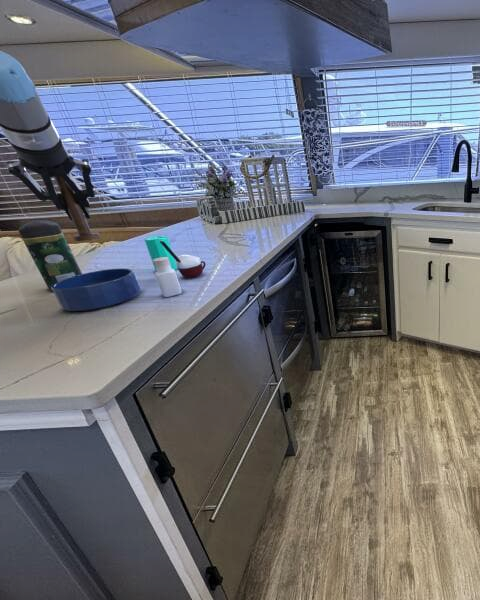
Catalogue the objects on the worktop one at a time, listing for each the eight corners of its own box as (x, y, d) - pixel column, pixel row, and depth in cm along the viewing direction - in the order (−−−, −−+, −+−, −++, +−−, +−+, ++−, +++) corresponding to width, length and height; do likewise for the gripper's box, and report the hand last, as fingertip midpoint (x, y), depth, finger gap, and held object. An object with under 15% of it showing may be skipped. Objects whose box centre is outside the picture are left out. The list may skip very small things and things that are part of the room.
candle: (161, 273, 100) (147, 235, 96) (152, 271, 103) (138, 234, 99) (181, 268, 105) (169, 231, 100) (172, 266, 108) (160, 230, 103)
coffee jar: (49, 285, 94) (16, 221, 86) (85, 278, 99) (57, 217, 91) (47, 294, 87) (12, 225, 80) (86, 286, 92) (56, 220, 85)
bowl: (58, 319, 72) (45, 294, 69) (67, 299, 83) (56, 277, 80) (142, 300, 80) (133, 277, 78) (140, 285, 91) (132, 264, 89)
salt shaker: (164, 298, 81) (151, 262, 77) (162, 294, 84) (149, 259, 80) (182, 294, 83) (171, 258, 79) (180, 290, 86) (168, 255, 82)
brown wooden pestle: (73, 242, 80) (41, 171, 73) (75, 239, 83) (45, 171, 77) (99, 238, 82) (71, 170, 76) (100, 235, 86) (73, 170, 79)
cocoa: (206, 271, 101) (195, 233, 96) (211, 275, 97) (199, 236, 92) (171, 278, 96) (157, 238, 91) (174, 283, 91) (160, 242, 86)
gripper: (-20, 153, 60) (40, 231, 78) (89, 152, 68) (120, 222, 87) (-27, 124, 61) (34, 207, 80) (81, 126, 70) (113, 200, 89)
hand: (79, 214), depth 83 cm, fingers closed on brown wooden pestle, 2 cm apart
